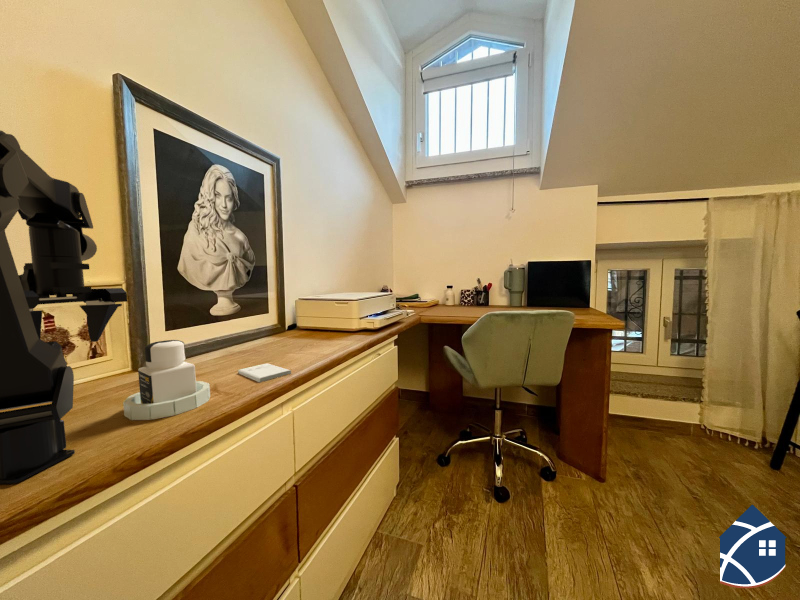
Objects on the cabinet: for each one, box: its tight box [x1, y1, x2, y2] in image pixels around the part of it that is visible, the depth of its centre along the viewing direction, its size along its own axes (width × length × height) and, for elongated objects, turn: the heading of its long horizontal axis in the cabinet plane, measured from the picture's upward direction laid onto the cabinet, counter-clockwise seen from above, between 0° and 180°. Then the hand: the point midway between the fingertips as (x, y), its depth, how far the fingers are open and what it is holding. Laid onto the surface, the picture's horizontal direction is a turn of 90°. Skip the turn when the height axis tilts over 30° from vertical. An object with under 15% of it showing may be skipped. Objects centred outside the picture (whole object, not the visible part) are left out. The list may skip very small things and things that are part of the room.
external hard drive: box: [237, 362, 292, 383], centre depth 78 cm, size 2×8×12 cm
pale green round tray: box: [122, 380, 211, 421], centre depth 59 cm, size 13×13×2 cm
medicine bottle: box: [137, 339, 197, 404], centre depth 58 cm, size 7×7×12 cm
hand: (66, 347), depth 52 cm, fingers open, 9 cm apart
